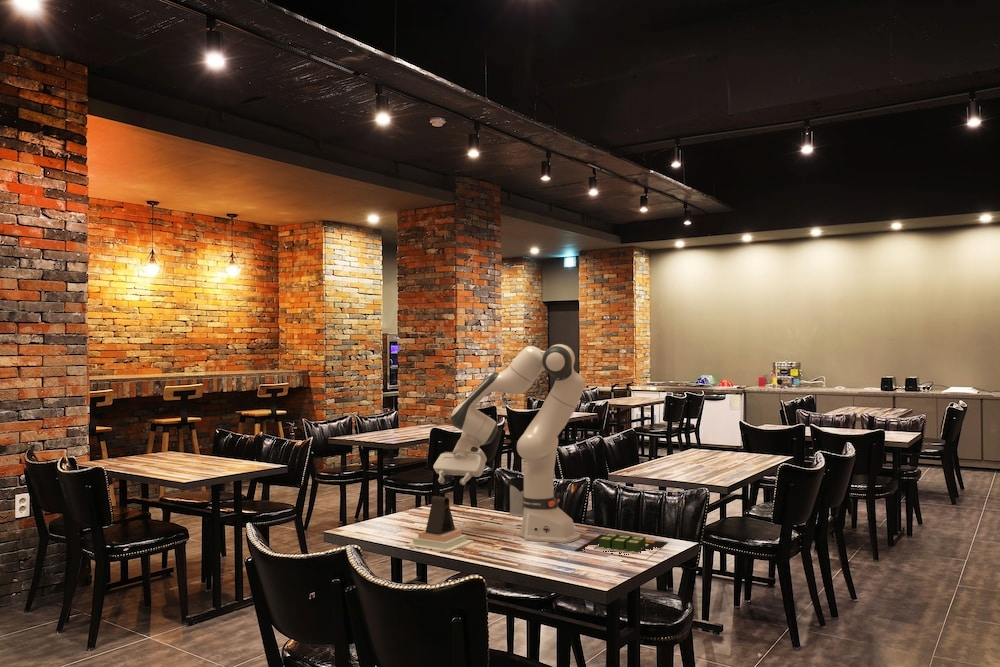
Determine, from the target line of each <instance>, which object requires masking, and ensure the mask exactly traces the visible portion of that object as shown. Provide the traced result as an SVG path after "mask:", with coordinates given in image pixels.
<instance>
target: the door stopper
mask: <svg viewBox="0 0 1000 667" xmlns="http://www.w3.org/2000/svg"><path fill="white" fill-rule="evenodd" d="M430 499H431V500H430V501H431V502H430V503H431V504H430V511H429V515H428V519H427V523H426V528H425V530H426V532H429V533H434V534H442V533H445V532H449V531H452V530H455V529H456V527H455V526H456V525H455V522H454V519H453V515H452V511H451V507H450V498H449V497H447V496H441V495H434V496H432V497H431V498H430Z"/></svg>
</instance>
